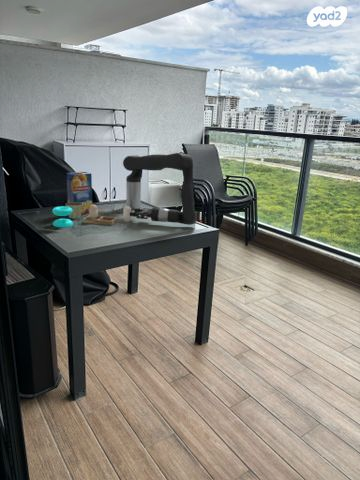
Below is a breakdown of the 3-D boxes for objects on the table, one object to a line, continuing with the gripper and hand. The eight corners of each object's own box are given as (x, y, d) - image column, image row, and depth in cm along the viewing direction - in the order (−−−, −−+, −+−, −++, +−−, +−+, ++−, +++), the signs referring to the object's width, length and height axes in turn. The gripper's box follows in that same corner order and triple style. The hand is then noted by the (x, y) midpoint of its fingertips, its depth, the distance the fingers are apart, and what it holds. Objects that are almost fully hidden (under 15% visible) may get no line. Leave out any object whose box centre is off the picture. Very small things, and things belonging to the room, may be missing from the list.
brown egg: (91, 219, 205) (90, 203, 202) (99, 220, 205) (98, 204, 202) (87, 221, 201) (87, 205, 198) (95, 222, 200) (95, 205, 197)
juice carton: (74, 216, 214) (72, 174, 207) (68, 213, 220) (66, 172, 212) (92, 213, 222) (91, 173, 215) (86, 210, 227) (85, 171, 220)
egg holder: (89, 220, 208) (89, 214, 207) (117, 222, 205) (117, 217, 204) (82, 224, 200) (82, 218, 199) (112, 227, 197) (111, 221, 196)
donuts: (48, 208, 188) (59, 205, 197) (49, 227, 191) (60, 223, 200) (64, 211, 185) (76, 207, 194) (65, 230, 188) (76, 225, 197)
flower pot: (75, 215, 215) (74, 201, 213) (87, 218, 211) (86, 203, 208) (62, 219, 208) (61, 204, 205) (74, 221, 203) (74, 206, 200)
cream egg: (124, 220, 210) (124, 204, 207) (132, 221, 209) (132, 205, 206) (122, 222, 206) (122, 206, 203) (130, 223, 205) (130, 207, 202)
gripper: (163, 205, 208) (135, 203, 211) (157, 211, 195) (128, 208, 198) (163, 218, 211) (135, 215, 213) (157, 224, 198) (128, 222, 200)
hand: (132, 212), depth 205 cm, fingers open, 8 cm apart
